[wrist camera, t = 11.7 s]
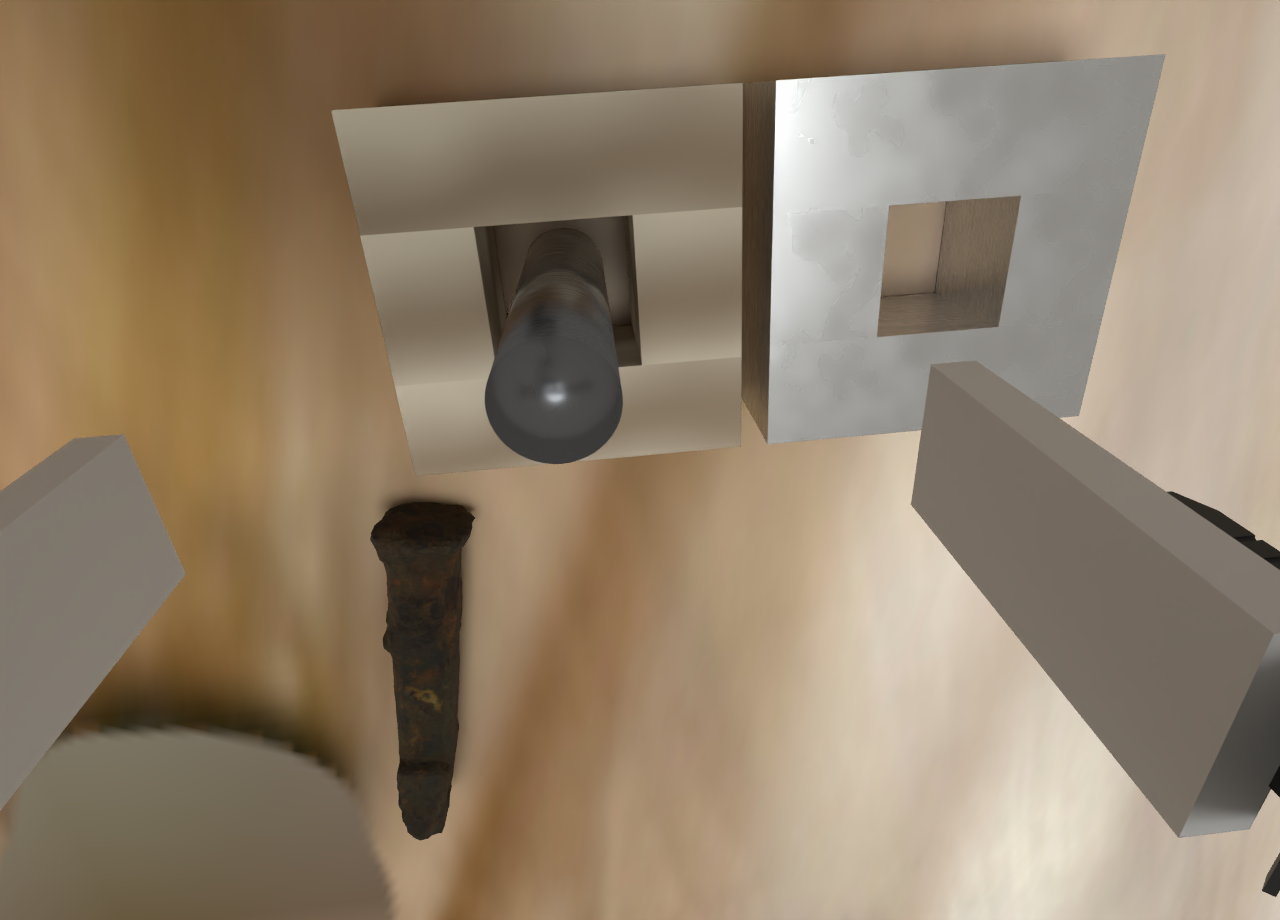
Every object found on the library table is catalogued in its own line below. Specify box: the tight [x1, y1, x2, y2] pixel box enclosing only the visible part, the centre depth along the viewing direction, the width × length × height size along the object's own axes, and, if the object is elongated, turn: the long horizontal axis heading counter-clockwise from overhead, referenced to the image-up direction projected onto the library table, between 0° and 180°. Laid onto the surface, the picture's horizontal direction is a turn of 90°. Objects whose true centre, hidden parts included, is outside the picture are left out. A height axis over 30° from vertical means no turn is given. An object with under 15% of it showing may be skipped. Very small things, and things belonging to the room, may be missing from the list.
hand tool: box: [370, 503, 475, 840], centre depth 34 cm, size 19×4×5 cm, turn 171°
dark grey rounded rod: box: [485, 228, 623, 464], centre depth 22 cm, size 3×3×14 cm
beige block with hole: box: [331, 83, 743, 476], centre depth 26 cm, size 12×12×5 cm
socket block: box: [741, 54, 1165, 444], centre depth 26 cm, size 12×12×5 cm
